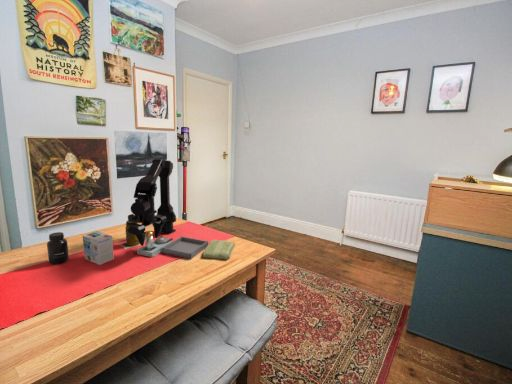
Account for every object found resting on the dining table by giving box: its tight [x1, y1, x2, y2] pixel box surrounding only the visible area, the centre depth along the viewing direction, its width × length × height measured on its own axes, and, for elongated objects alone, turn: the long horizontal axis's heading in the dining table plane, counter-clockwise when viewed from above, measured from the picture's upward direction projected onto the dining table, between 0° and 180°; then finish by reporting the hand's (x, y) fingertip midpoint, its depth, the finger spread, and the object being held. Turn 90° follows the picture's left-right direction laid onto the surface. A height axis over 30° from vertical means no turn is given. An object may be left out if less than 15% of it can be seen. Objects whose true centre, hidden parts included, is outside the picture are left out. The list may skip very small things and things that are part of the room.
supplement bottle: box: [46, 231, 70, 265], centre depth 110 cm, size 7×7×12 cm
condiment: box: [119, 220, 141, 250], centre depth 129 cm, size 7×8×12 cm
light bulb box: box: [82, 230, 115, 266], centre depth 114 cm, size 11×7×11 cm, turn 62°
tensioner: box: [136, 235, 174, 258], centre depth 127 cm, size 16×9×3 cm, turn 161°
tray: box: [161, 235, 209, 260], centre depth 127 cm, size 15×15×2 cm
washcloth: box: [202, 239, 236, 261], centre depth 127 cm, size 13×18×3 cm
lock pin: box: [144, 230, 154, 251], centre depth 122 cm, size 3×3×10 cm
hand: (149, 241), depth 122 cm, fingers open, 9 cm apart
